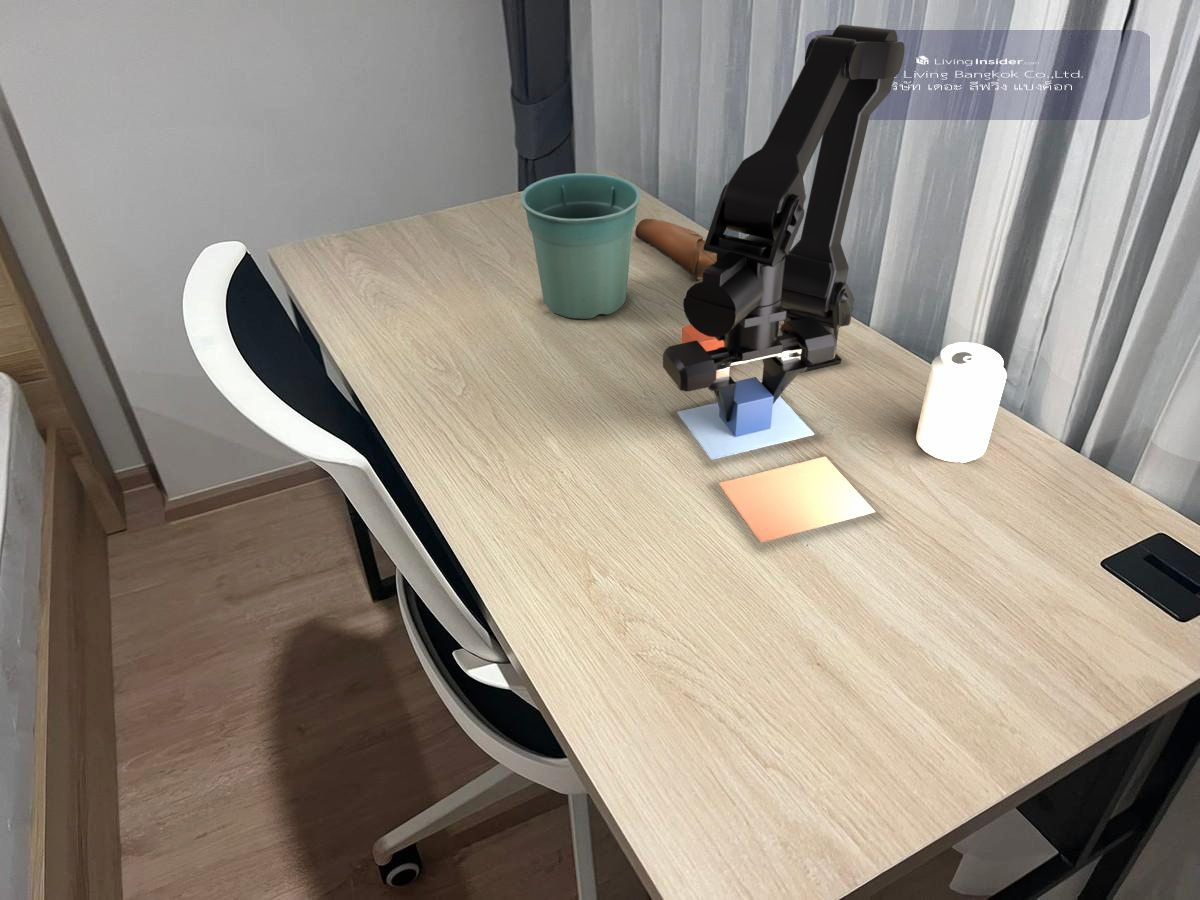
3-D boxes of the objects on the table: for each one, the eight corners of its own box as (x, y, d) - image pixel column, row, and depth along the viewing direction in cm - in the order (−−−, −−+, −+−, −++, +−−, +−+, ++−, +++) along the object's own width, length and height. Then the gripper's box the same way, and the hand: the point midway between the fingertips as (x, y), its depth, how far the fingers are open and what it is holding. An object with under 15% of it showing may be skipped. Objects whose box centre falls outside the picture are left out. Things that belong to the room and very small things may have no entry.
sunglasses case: (740, 266, 138) (724, 235, 133) (707, 297, 138) (689, 268, 133) (677, 226, 151) (660, 197, 146) (646, 254, 150) (628, 227, 146)
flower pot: (664, 305, 130) (665, 197, 120) (568, 340, 123) (561, 229, 113) (600, 265, 141) (596, 164, 131) (509, 296, 134) (498, 191, 124)
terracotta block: (712, 350, 119) (713, 320, 117) (726, 366, 116) (728, 336, 113) (680, 356, 118) (681, 326, 116) (694, 373, 115) (695, 343, 112)
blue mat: (773, 393, 111) (774, 389, 110) (814, 438, 103) (815, 434, 103) (676, 415, 108) (676, 411, 107) (710, 463, 100) (711, 459, 100)
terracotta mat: (824, 460, 100) (825, 455, 99) (874, 515, 92) (875, 511, 92) (717, 487, 97) (717, 482, 96) (760, 547, 89) (760, 542, 89)
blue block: (753, 408, 107) (755, 376, 105) (770, 428, 104) (773, 396, 101) (718, 416, 106) (720, 384, 103) (735, 437, 103) (737, 404, 100)
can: (935, 420, 105) (956, 330, 98) (996, 446, 101) (1023, 354, 93) (901, 448, 101) (920, 356, 94) (963, 477, 97) (989, 383, 89)
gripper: (796, 249, 103) (784, 365, 113) (644, 278, 99) (645, 396, 108) (847, 291, 95) (829, 412, 104) (684, 324, 90) (681, 448, 100)
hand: (745, 415), depth 104 cm, fingers closed on blue block, 4 cm apart
